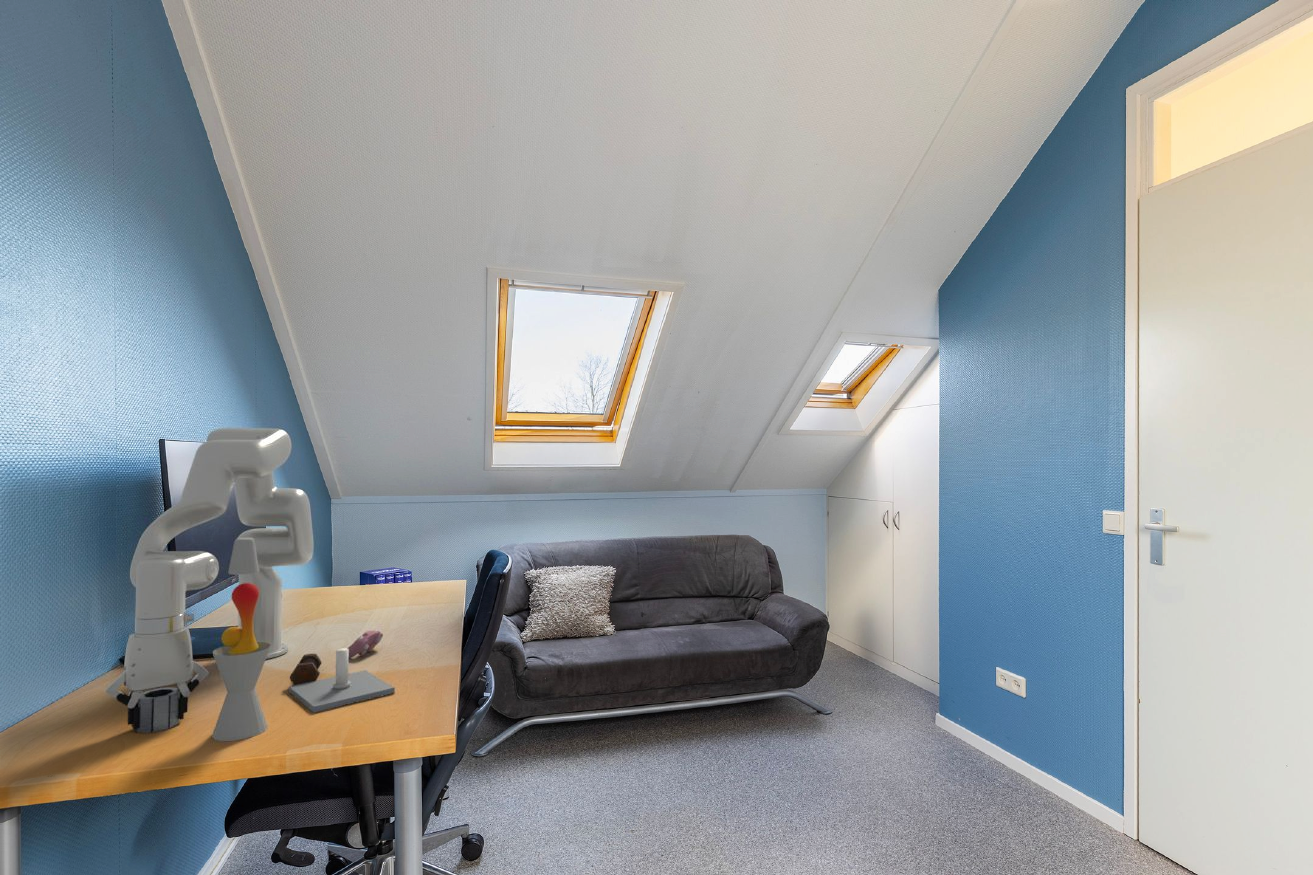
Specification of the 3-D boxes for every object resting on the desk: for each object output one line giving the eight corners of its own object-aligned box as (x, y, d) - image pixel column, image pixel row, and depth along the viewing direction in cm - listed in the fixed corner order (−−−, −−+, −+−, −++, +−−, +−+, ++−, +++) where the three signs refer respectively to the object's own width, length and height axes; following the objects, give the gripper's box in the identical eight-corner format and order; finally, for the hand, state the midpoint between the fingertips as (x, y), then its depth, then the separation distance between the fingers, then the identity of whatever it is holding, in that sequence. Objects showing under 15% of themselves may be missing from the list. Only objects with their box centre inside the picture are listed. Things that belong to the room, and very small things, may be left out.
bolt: (314, 675, 161) (307, 693, 147) (294, 666, 159) (285, 684, 145) (328, 652, 162) (323, 668, 148) (308, 643, 161) (300, 659, 147)
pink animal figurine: (355, 666, 167) (367, 641, 167) (340, 656, 168) (352, 632, 167) (377, 654, 177) (389, 630, 176) (363, 645, 177) (374, 622, 177)
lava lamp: (272, 718, 129) (275, 534, 130) (264, 736, 121) (268, 540, 122) (216, 725, 126) (221, 536, 127) (205, 744, 117) (209, 542, 118)
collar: (134, 725, 126) (135, 692, 126) (175, 716, 130) (175, 685, 130) (139, 735, 121) (140, 701, 121) (181, 725, 125) (181, 693, 126)
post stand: (288, 692, 144) (289, 649, 144) (365, 675, 155) (366, 635, 155) (313, 712, 132) (314, 666, 132) (394, 693, 143) (395, 650, 144)
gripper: (210, 613, 135) (208, 705, 134) (98, 628, 123) (95, 729, 122) (219, 620, 129) (217, 715, 129) (102, 636, 117) (99, 741, 117)
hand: (157, 721), depth 125 cm, fingers closed on collar, 6 cm apart
